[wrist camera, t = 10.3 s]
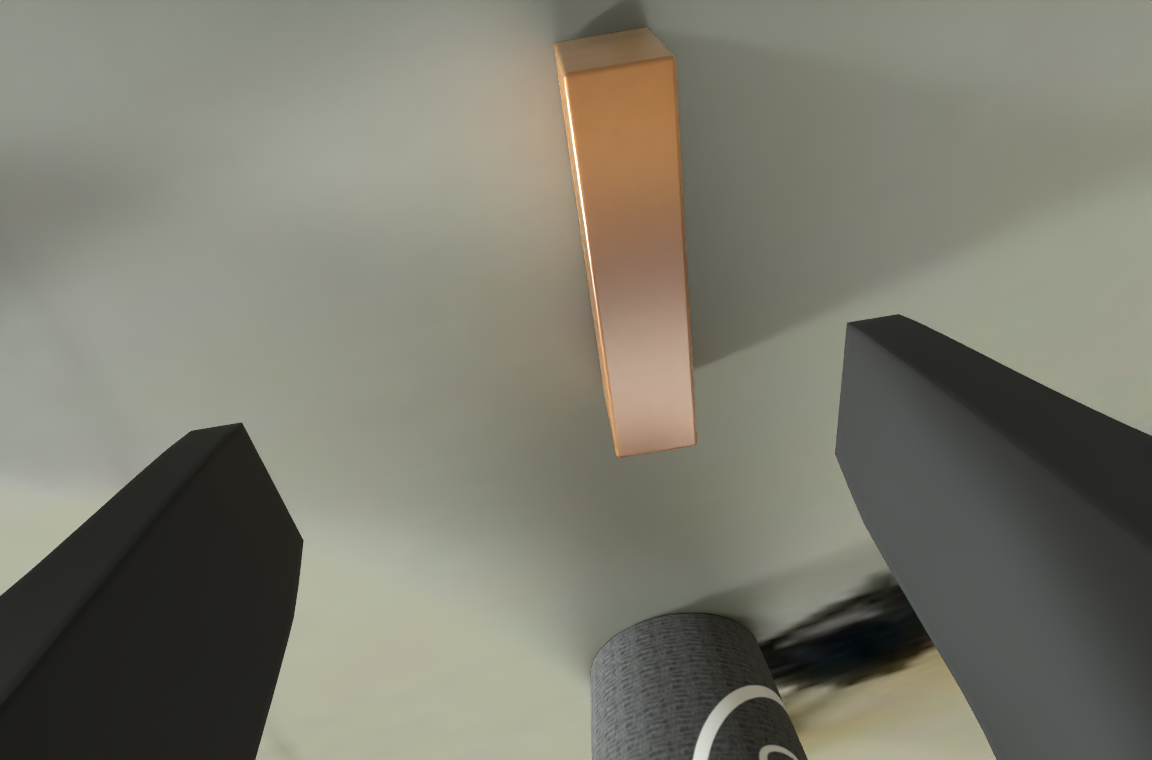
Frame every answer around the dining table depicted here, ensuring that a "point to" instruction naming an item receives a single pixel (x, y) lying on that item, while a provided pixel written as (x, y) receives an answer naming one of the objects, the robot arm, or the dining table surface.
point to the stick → (632, 231)
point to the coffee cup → (687, 695)
